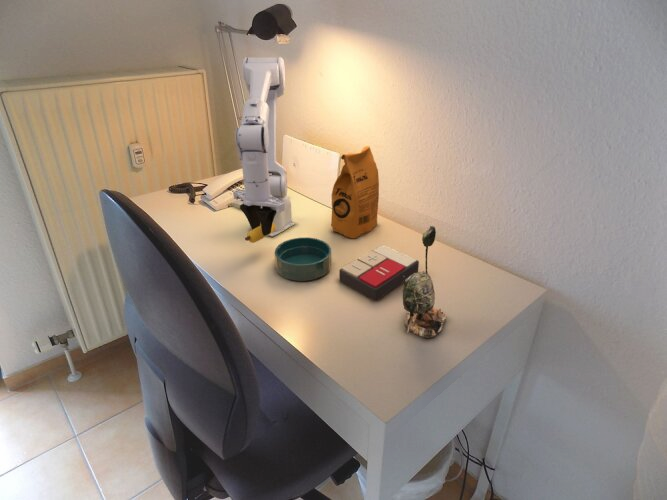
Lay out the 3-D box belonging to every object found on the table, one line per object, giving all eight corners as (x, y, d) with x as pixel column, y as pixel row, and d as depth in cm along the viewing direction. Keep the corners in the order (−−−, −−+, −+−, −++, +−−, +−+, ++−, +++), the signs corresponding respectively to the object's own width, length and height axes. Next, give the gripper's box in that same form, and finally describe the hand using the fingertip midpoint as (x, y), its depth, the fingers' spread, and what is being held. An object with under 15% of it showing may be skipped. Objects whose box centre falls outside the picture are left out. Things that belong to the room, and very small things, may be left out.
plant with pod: (385, 326, 83) (392, 234, 74) (425, 304, 89) (436, 216, 80) (416, 349, 78) (428, 253, 68) (456, 324, 84) (473, 232, 74)
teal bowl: (299, 248, 110) (298, 232, 108) (341, 263, 104) (341, 246, 102) (264, 270, 101) (263, 254, 99) (308, 288, 94) (308, 271, 92)
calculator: (338, 267, 95) (382, 241, 104) (338, 282, 97) (382, 256, 106) (375, 287, 88) (420, 258, 97) (375, 304, 91) (418, 273, 99)
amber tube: (269, 228, 109) (268, 218, 108) (278, 232, 108) (277, 221, 106) (242, 244, 102) (240, 232, 101) (251, 247, 101) (250, 236, 99)
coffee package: (325, 230, 119) (324, 151, 108) (355, 216, 127) (357, 141, 116) (353, 241, 113) (355, 160, 102) (382, 226, 121) (386, 149, 110)
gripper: (220, 177, 98) (228, 230, 105) (268, 191, 91) (272, 247, 98) (243, 169, 104) (248, 220, 110) (289, 181, 96) (292, 235, 103)
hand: (261, 232), depth 104 cm, fingers closed on amber tube, 3 cm apart
